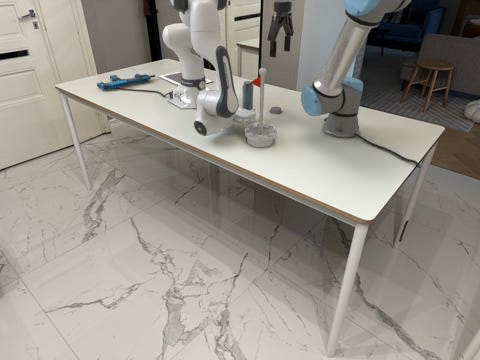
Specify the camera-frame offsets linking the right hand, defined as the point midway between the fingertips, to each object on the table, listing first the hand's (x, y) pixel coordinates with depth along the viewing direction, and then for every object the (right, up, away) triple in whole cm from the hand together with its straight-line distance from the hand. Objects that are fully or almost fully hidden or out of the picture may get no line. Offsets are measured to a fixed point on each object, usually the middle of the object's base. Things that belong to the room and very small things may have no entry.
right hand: (280, 54), depth 153 cm
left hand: (-16, -24, +2) cm, 28 cm away
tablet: (-53, +7, +61) cm, 81 cm away
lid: (0, -22, +15) cm, 26 cm away
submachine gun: (-89, +3, +56) cm, 105 cm away
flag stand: (-10, -41, -11) cm, 43 cm away
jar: (-15, -29, +7) cm, 33 cm away
